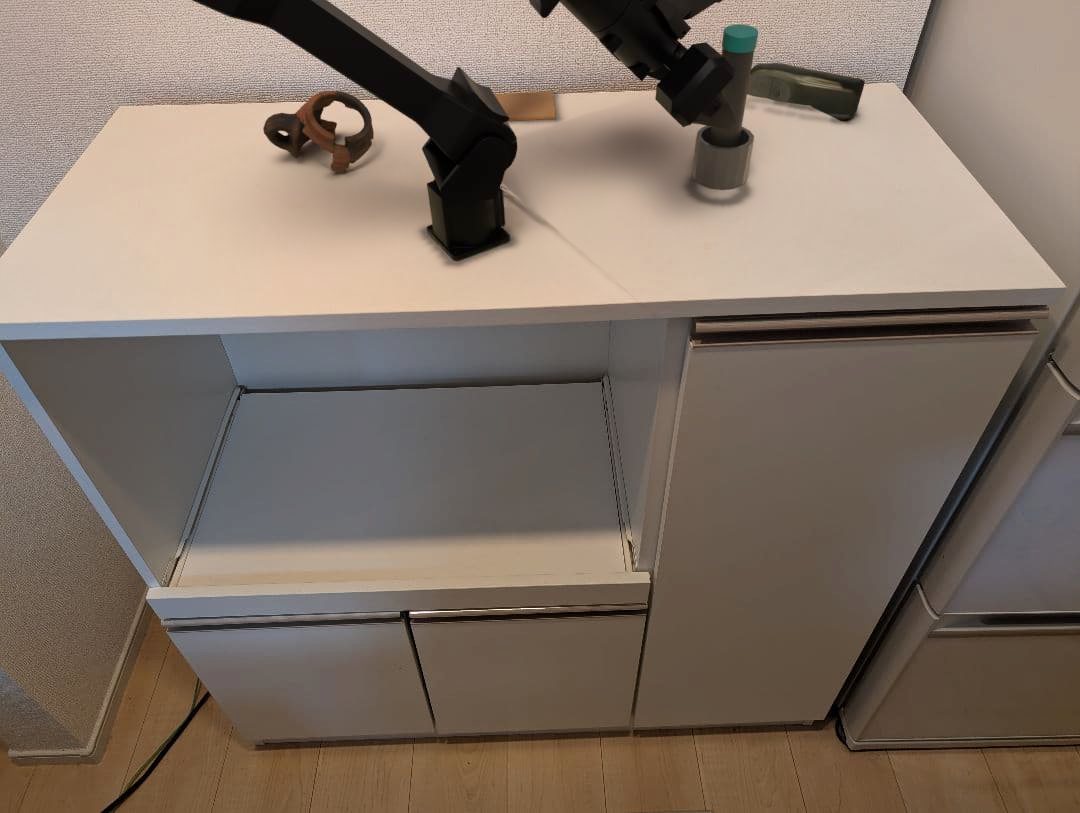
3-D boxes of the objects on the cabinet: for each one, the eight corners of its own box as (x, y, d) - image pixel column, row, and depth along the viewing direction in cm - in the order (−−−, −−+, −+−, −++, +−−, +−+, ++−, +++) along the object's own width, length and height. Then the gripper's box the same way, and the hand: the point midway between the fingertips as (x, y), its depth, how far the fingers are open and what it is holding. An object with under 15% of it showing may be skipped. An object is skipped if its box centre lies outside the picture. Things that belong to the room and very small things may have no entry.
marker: (717, 186, 84) (739, 39, 73) (698, 173, 86) (716, 29, 75) (740, 177, 85) (765, 32, 75) (720, 165, 87) (742, 21, 76)
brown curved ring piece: (355, 131, 99) (368, 82, 92) (373, 194, 96) (388, 149, 89) (254, 128, 93) (260, 77, 87) (270, 196, 91) (277, 148, 84)
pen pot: (714, 208, 84) (722, 155, 80) (679, 184, 87) (685, 132, 83) (756, 191, 86) (765, 139, 82) (720, 169, 89) (727, 118, 85)
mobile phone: (867, 74, 95) (741, 55, 99) (864, 84, 93) (736, 65, 97) (855, 114, 98) (734, 94, 102) (852, 125, 96) (729, 104, 100)
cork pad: (483, 122, 99) (483, 118, 99) (483, 97, 104) (483, 94, 104) (555, 118, 99) (555, 115, 99) (552, 94, 104) (552, 91, 104)
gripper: (729, -47, 60) (825, 76, 70) (634, -107, 73) (727, 5, 83) (626, 73, 64) (731, 173, 74) (554, -3, 77) (652, 91, 87)
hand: (710, 105), depth 79 cm, fingers open, 9 cm apart
